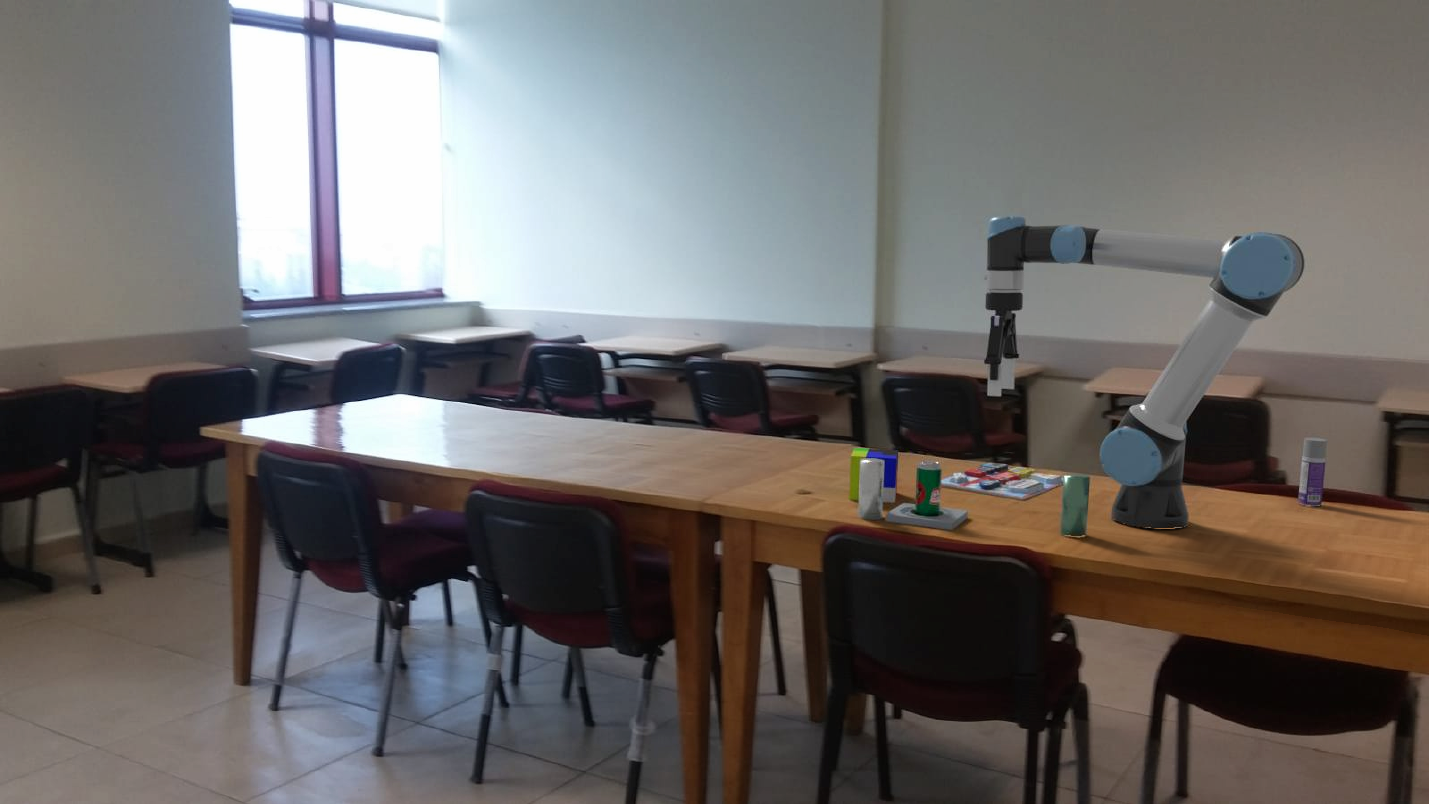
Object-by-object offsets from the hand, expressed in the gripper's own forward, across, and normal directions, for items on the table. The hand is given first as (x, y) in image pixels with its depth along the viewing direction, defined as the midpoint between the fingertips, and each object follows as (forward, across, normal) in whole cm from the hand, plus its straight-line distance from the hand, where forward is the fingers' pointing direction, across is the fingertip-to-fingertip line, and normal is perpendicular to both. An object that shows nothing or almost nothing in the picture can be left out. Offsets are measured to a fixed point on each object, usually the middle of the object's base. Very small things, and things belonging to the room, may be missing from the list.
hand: (1000, 392), depth 241 cm
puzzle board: (+27, -32, -5) cm, 42 cm away
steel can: (+26, +17, -23) cm, 38 cm away
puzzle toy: (+26, -2, -28) cm, 38 cm away
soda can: (+26, +13, -12) cm, 31 cm away
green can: (+26, +11, +17) cm, 34 cm away
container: (+27, -43, +61) cm, 80 cm away
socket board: (+26, +13, -12) cm, 31 cm away
